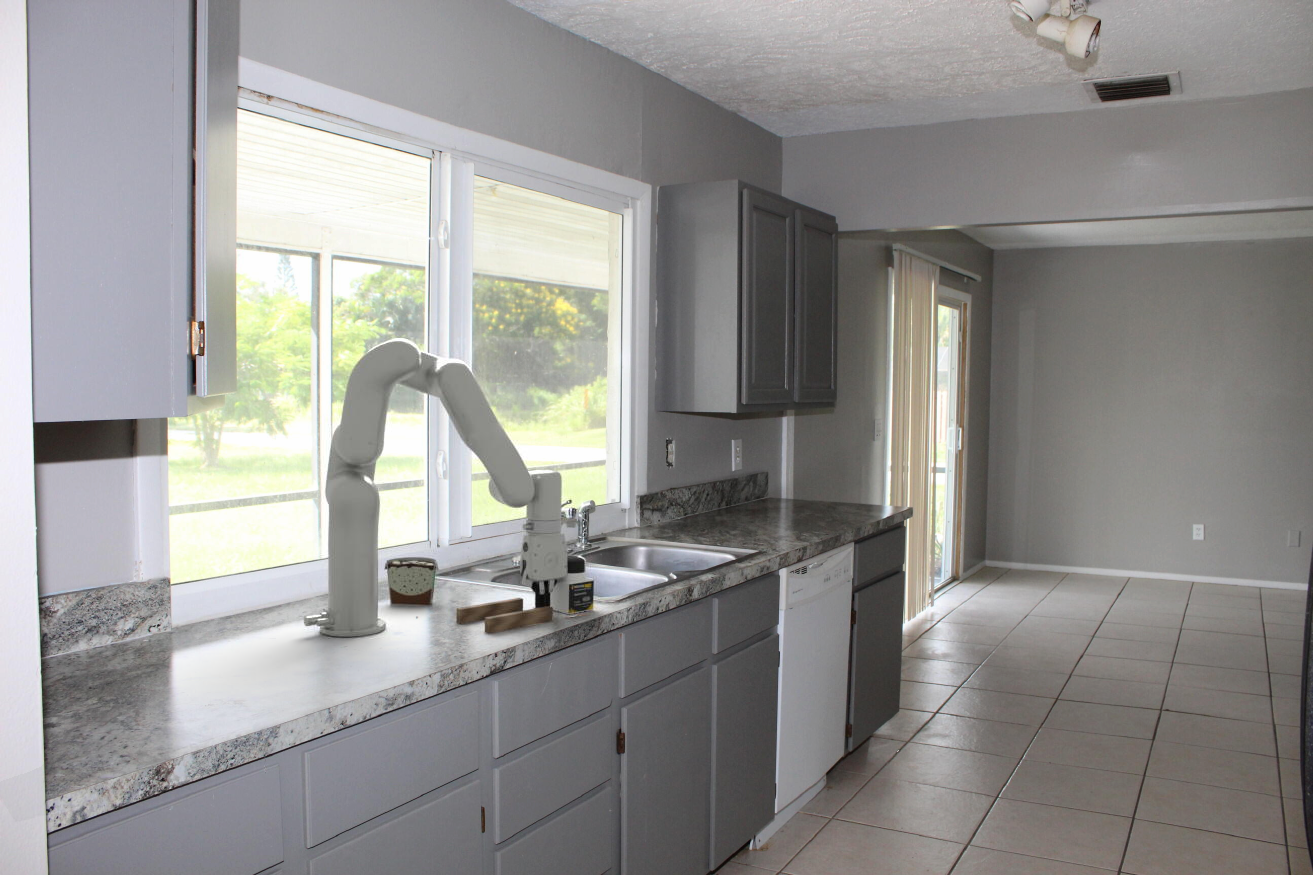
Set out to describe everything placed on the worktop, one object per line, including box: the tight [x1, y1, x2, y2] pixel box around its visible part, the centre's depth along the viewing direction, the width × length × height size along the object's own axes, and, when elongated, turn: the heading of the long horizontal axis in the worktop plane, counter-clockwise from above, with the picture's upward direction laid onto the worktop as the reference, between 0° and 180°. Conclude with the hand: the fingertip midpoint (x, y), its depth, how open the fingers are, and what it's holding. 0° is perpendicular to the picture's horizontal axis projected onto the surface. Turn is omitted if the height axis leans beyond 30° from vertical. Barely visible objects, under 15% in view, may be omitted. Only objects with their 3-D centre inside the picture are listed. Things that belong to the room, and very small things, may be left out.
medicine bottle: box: [550, 554, 595, 615], centre depth 212 cm, size 7×7×12 cm
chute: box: [455, 597, 554, 635], centre depth 200 cm, size 16×12×3 cm
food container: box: [384, 556, 440, 607], centre depth 217 cm, size 12×6×10 cm, turn 84°
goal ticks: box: [533, 607, 590, 619], centre depth 211 cm, size 6×12×1 cm, turn 44°
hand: (542, 610), depth 207 cm, fingers closed
